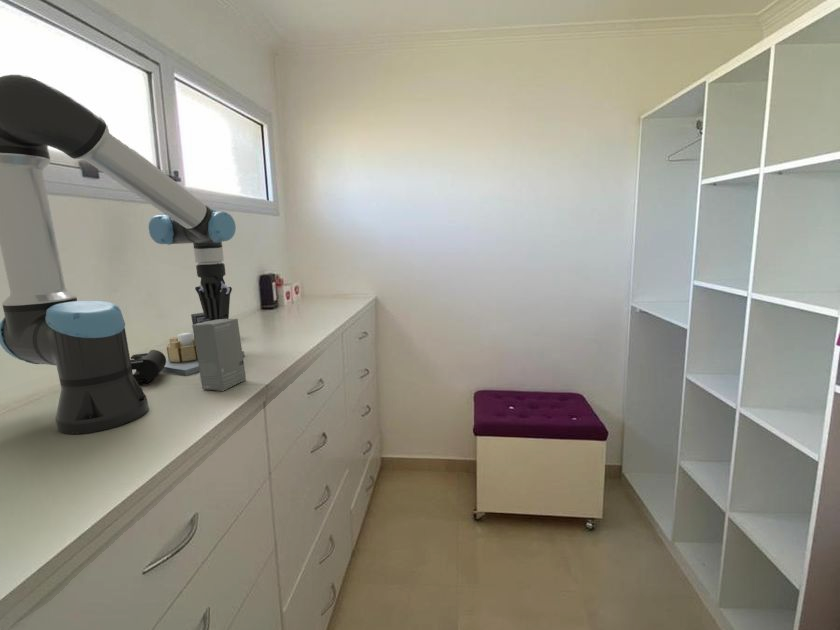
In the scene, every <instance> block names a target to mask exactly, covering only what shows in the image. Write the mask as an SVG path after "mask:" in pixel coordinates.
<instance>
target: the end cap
mask: <svg viewBox="0 0 840 630" xmlns="http://www.w3.org/2000/svg"><path fill="white" fill-rule="evenodd" d="M165 357H166V356H165V354H164V353H163V352H162V351H160V350H156V349H151V350H150V351H149V352H145V353H139V354H136V353H135V354H132V356H130V361H131V367H132V371H133V370H135V372H133V376H134V377H135V379H136V381H137V382H138V384H139V386H140V387H141V386H147V385H150V384H152V383H153V382H154V381H155V380H156V379H157V378H158V376H159V375H160V373H162V372H161V371H162V369H163V368H164V366H165V364H166V358H165Z"/></svg>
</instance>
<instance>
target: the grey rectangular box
mask: <svg viewBox="0 0 840 630" xmlns="http://www.w3.org/2000/svg"><path fill="white" fill-rule="evenodd" d="M238 319H239V318H229V319H217V320H212V321H206V322H202V323H198V324H191V326H192V331H193V332H192V333H193V335H194V339H195V345H196V352H197V358H198V364H199V377H200V382H201V388H202V390H211V391H219V392H220V391H221V392H224V390H225V391H227V390H228V388H229V389H230V387H231V388H233V387H235V386H236V384H237V385H238V383H239V384H241V383H242V382H245V381H246V380H247V377H246V370H245V362H244V356H243V354H242V351H243V350H242V349H243V348H242V342H241V334H240V327H239V320H238ZM240 382H241V383H240ZM234 385H235V386H234ZM232 386H233V387H232Z"/></svg>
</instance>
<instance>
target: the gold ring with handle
mask: <svg viewBox="0 0 840 630" xmlns="http://www.w3.org/2000/svg"><path fill="white" fill-rule="evenodd" d="M193 336H194V334H193ZM166 353H167V356H168V359H169V361H170V362H181V361H183V362H185V361H191V360H196V359H198V358H197V352H196V345H195V339H193V345H187V346H181V345H180V341H178V337H171V338H169V343H168V344H166Z"/></svg>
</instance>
